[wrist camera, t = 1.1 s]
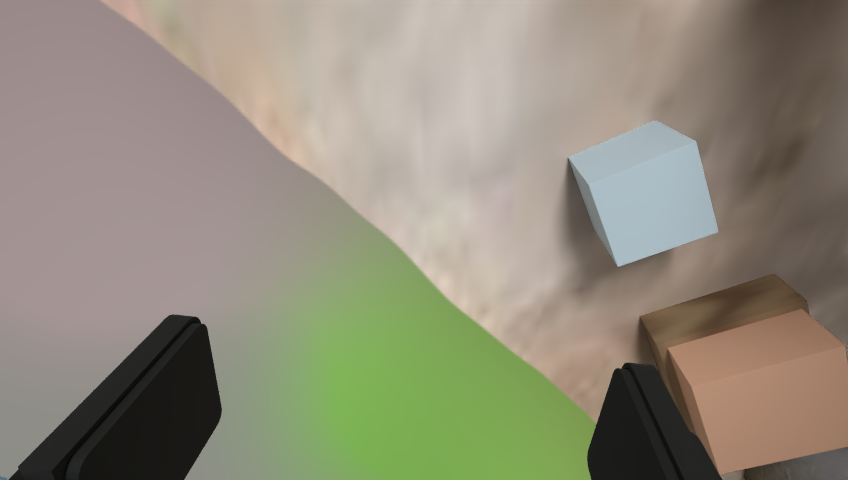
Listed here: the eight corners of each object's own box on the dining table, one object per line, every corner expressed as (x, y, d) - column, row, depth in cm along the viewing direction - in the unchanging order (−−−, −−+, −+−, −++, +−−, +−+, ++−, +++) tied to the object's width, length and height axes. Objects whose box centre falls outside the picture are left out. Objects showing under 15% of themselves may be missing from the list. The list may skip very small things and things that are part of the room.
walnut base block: (771, 271, 35) (806, 300, 31) (790, 366, 39) (824, 402, 35) (638, 313, 37) (656, 345, 34) (668, 399, 41) (687, 435, 37)
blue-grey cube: (655, 119, 31) (696, 141, 25) (676, 196, 33) (718, 231, 27) (567, 156, 32) (588, 184, 27) (593, 228, 34) (617, 267, 29)
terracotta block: (802, 308, 32) (845, 345, 28) (818, 400, 35) (859, 444, 31) (667, 348, 34) (691, 386, 30) (694, 430, 37) (719, 474, 33)
